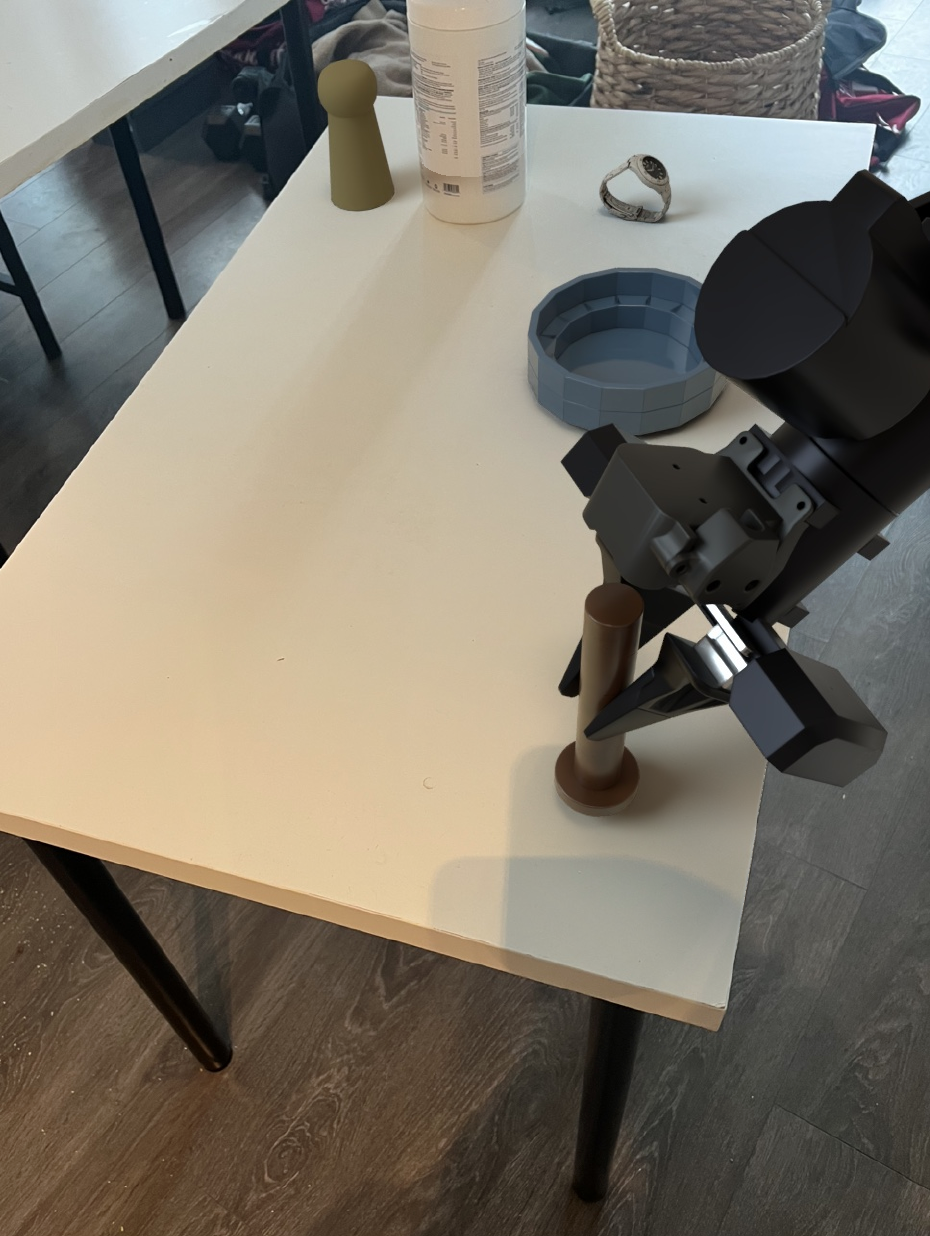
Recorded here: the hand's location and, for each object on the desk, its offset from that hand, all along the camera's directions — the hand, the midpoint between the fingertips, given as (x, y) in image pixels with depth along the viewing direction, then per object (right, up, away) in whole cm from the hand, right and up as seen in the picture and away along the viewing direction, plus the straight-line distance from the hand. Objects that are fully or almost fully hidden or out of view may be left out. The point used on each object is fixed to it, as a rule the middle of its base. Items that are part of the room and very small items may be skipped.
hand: (576, 715), depth 46 cm
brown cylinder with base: (+2, -4, +6) cm, 7 cm away
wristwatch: (+12, +43, +39) cm, 59 cm away
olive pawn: (-12, +48, +46) cm, 68 cm away
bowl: (+8, +24, +27) cm, 37 cm away
